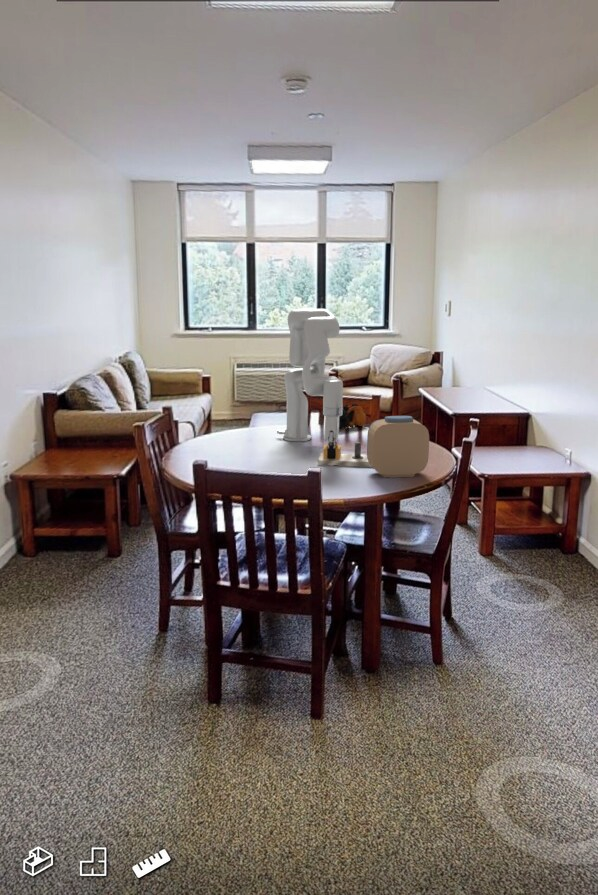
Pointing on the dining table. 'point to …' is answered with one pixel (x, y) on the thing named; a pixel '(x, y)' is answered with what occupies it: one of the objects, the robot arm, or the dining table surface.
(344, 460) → the peg board
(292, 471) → the dining table surface
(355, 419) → the tool
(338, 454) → the orange square frame
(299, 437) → the robot arm
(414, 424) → the alarm clock
